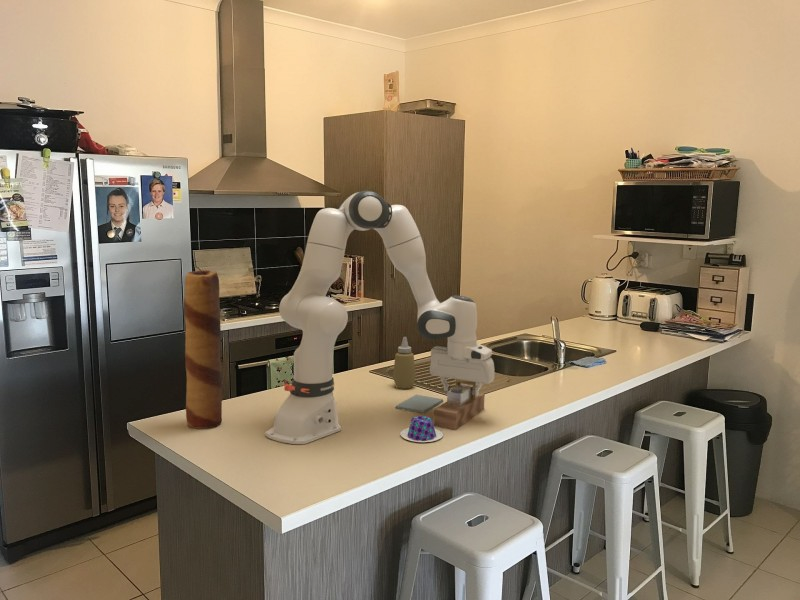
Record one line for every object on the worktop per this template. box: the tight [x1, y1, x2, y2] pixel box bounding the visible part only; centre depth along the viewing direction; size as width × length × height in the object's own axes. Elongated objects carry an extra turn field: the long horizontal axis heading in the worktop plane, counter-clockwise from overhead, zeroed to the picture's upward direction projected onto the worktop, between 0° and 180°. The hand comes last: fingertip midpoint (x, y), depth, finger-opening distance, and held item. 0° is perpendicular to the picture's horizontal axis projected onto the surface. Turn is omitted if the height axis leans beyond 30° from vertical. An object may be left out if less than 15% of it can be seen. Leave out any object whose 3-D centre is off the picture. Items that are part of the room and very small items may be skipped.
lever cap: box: [446, 383, 473, 407], centre depth 200 cm, size 10×4×5 cm, turn 151°
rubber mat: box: [395, 394, 444, 414], centre depth 212 cm, size 14×10×1 cm
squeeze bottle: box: [392, 336, 417, 390], centre depth 230 cm, size 8×8×18 cm
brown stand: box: [433, 379, 486, 431], centre depth 200 cm, size 22×7×11 cm, turn 151°
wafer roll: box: [183, 269, 223, 429], centre depth 189 cm, size 10×11×45 cm
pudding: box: [400, 415, 444, 443], centre depth 184 cm, size 12×12×5 cm
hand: (461, 393), depth 200 cm, fingers open, 8 cm apart
